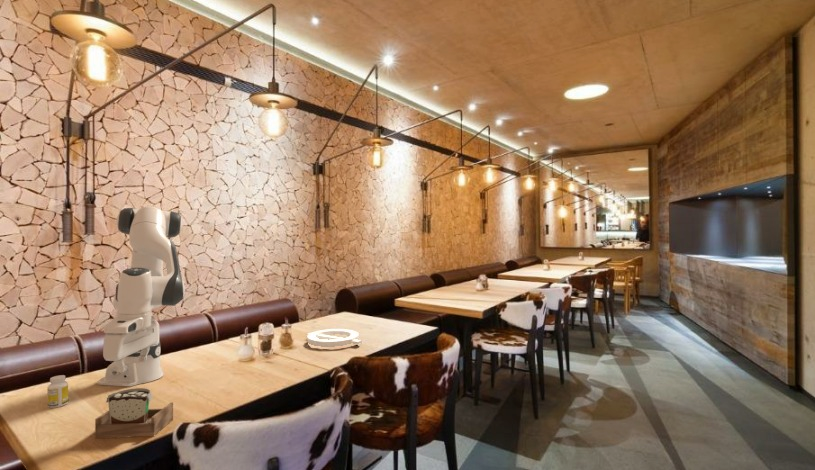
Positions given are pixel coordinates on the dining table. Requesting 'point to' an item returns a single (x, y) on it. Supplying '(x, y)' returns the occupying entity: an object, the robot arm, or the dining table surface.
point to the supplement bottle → (57, 392)
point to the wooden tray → (134, 424)
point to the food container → (129, 406)
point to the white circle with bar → (333, 338)
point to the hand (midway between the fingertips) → (132, 366)
